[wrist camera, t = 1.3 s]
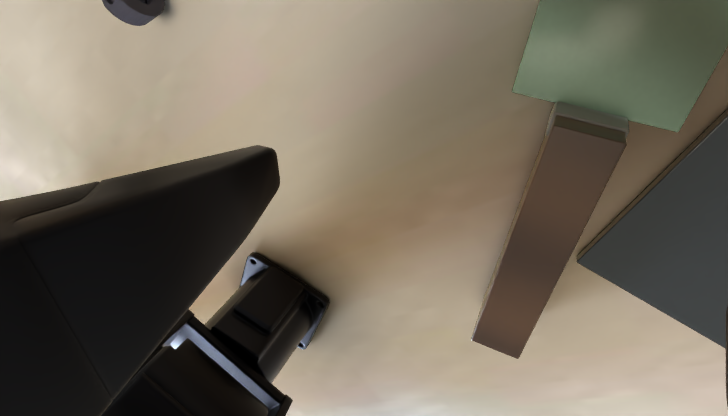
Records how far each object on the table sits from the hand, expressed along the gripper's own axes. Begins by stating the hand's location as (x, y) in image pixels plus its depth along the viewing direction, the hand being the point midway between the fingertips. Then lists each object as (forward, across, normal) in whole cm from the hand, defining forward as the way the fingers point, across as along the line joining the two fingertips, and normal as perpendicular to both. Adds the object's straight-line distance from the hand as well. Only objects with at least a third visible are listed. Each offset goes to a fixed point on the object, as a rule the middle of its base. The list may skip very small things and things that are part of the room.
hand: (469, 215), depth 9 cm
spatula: (+11, -2, +4) cm, 12 cm away
